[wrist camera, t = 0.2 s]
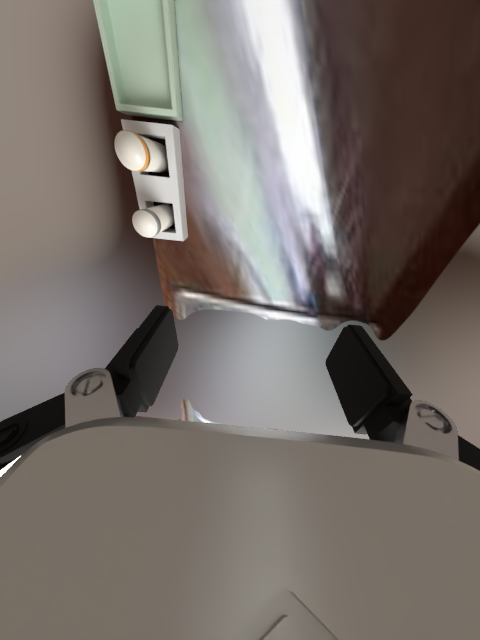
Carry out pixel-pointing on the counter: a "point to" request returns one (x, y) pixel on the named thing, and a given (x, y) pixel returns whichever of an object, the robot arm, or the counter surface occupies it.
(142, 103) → the tray
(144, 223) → the cylinder
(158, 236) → the holder block
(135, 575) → the robot arm
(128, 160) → the cylinder
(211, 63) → the counter surface
